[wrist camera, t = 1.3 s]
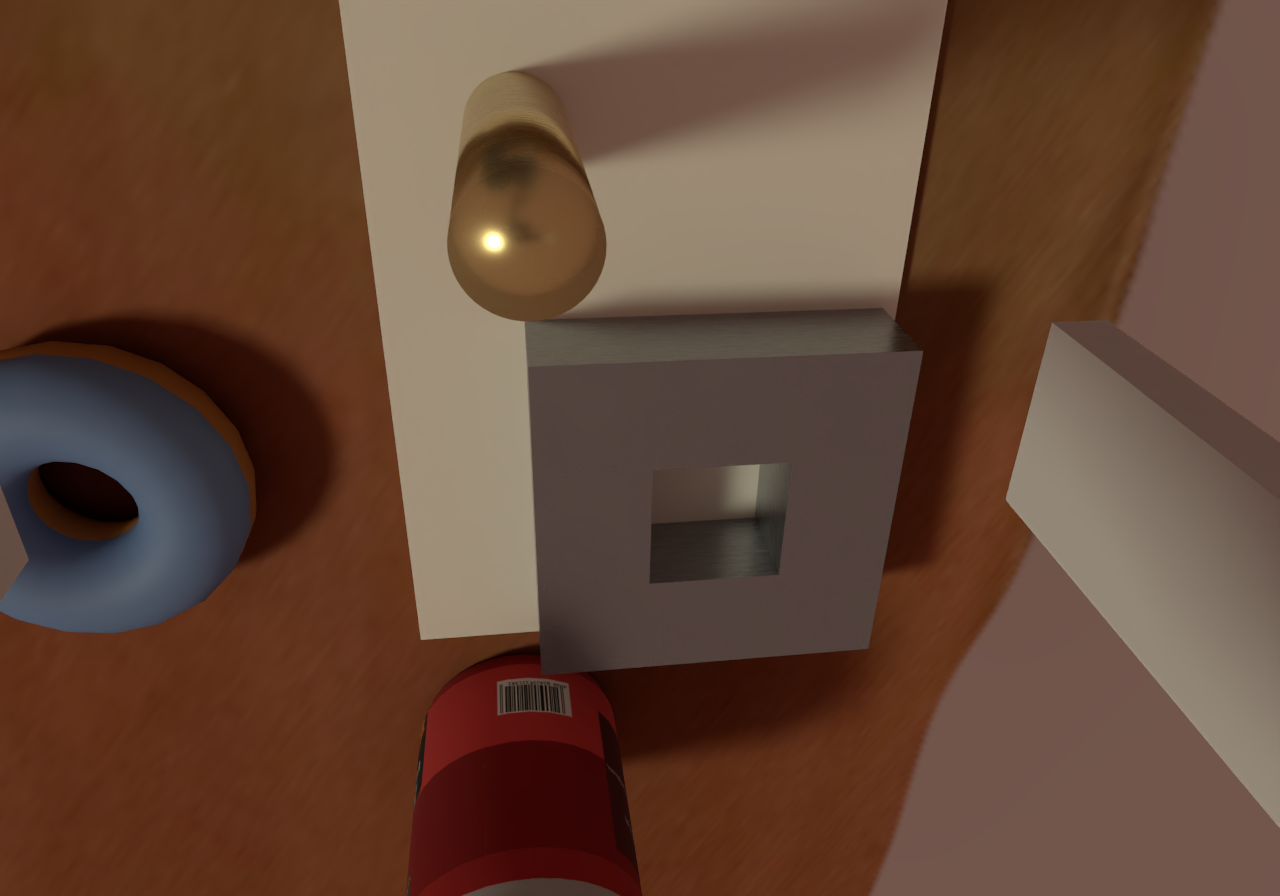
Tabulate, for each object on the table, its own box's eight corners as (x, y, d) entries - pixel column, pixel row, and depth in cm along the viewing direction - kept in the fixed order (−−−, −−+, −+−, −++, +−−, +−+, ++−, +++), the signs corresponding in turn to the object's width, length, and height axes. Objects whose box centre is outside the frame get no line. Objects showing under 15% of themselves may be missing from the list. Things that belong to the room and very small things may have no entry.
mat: (319, -166, 24) (317, -167, 23) (965, -147, 26) (972, -148, 25) (421, 632, 37) (420, 639, 36) (844, 601, 39) (847, 607, 38)
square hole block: (524, 320, 30) (527, 366, 27) (882, 308, 32) (923, 350, 29) (537, 610, 36) (541, 675, 33) (838, 589, 38) (868, 648, 35)
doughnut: (-80, 555, 32) (-142, 643, 28) (-59, 282, 28) (-127, 340, 24) (234, 597, 36) (218, 680, 32) (290, 361, 32) (280, 423, 28)
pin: (458, 71, 26) (440, 168, 17) (566, 71, 27) (606, 166, 17) (466, 179, 28) (453, 324, 18) (568, 178, 28) (606, 319, 19)
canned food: (382, 708, 38) (347, 972, 29) (548, 615, 37) (566, 860, 28) (492, 806, 42) (492, 1068, 33) (645, 725, 41) (691, 974, 31)
